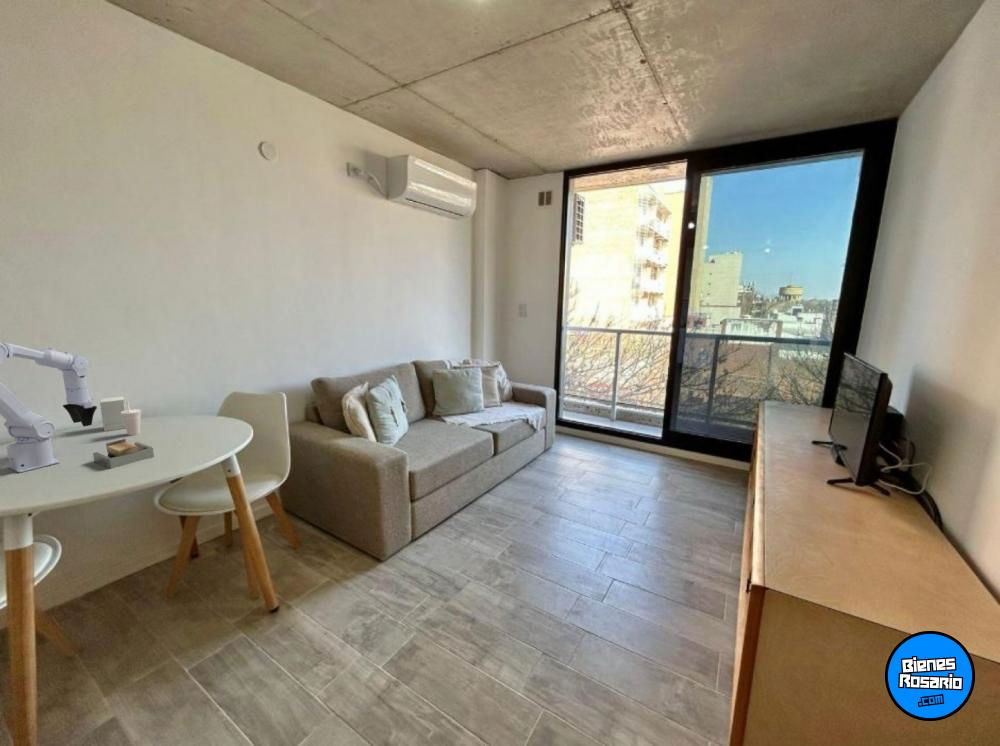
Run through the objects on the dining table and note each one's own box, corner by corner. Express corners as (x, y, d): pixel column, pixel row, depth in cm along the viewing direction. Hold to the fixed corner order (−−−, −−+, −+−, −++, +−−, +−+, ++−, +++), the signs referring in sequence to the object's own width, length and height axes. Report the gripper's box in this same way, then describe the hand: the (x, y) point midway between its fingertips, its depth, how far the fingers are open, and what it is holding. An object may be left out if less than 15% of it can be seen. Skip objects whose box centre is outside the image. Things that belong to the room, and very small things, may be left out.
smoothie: (120, 434, 165) (115, 401, 162) (140, 430, 170) (135, 398, 168) (127, 437, 162) (123, 403, 159) (147, 433, 168) (143, 400, 165)
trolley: (118, 463, 138) (116, 448, 137) (106, 458, 142) (104, 443, 141) (140, 457, 144) (138, 442, 143) (128, 453, 147) (126, 438, 146)
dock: (110, 468, 134) (108, 459, 134) (94, 461, 139) (92, 453, 138) (154, 456, 145) (153, 447, 145) (138, 450, 150) (137, 442, 149)
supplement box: (127, 428, 172) (123, 399, 170) (103, 431, 167) (99, 402, 165) (127, 423, 178) (123, 396, 175) (103, 427, 173) (99, 398, 170)
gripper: (100, 388, 147) (106, 424, 149) (82, 383, 153) (87, 417, 155) (74, 392, 140) (80, 429, 143) (56, 386, 146) (62, 422, 149)
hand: (82, 423), depth 149 cm, fingers open, 7 cm apart
